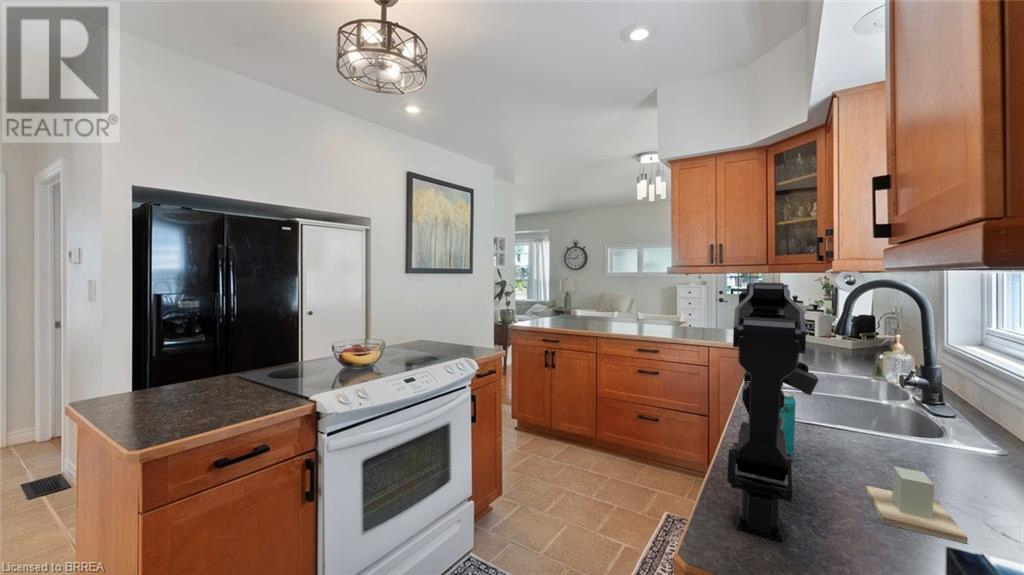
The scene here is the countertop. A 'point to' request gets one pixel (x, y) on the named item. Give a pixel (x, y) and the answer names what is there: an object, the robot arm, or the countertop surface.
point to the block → (913, 492)
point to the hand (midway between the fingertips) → (760, 428)
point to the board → (915, 517)
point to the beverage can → (788, 421)
